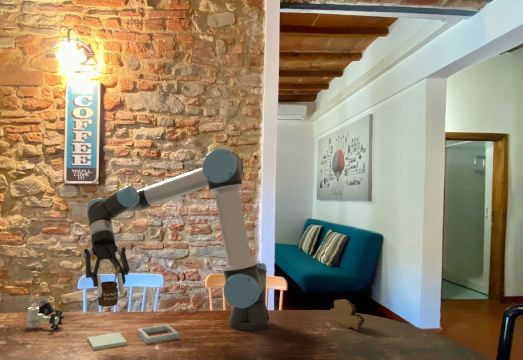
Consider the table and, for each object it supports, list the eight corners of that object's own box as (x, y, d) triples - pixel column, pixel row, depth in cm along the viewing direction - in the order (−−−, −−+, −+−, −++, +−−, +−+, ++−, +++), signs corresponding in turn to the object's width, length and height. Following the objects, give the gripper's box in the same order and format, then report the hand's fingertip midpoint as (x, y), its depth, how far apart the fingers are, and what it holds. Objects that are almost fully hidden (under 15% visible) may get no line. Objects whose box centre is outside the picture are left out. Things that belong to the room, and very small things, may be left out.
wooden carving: (368, 332, 153) (368, 304, 154) (359, 334, 151) (359, 305, 151) (335, 320, 167) (336, 294, 167) (327, 322, 164) (327, 295, 165)
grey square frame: (167, 329, 151) (167, 324, 151) (178, 338, 141) (179, 333, 141) (137, 334, 145) (137, 328, 145) (146, 344, 136) (146, 338, 136)
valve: (20, 329, 148) (51, 332, 145) (21, 310, 148) (51, 312, 146) (34, 323, 154) (63, 326, 152) (35, 305, 154) (64, 307, 152)
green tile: (119, 335, 143) (119, 332, 143) (126, 344, 135) (126, 341, 135) (87, 340, 138) (87, 336, 138) (93, 350, 130) (93, 346, 130)
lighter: (31, 325, 160) (24, 312, 160) (34, 323, 162) (27, 310, 162) (52, 312, 160) (44, 299, 160) (54, 311, 162) (47, 298, 163)
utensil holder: (94, 304, 137) (96, 266, 137) (112, 301, 141) (114, 264, 142) (103, 308, 133) (105, 269, 133) (121, 304, 137) (123, 267, 138)
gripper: (127, 242, 156) (138, 296, 141) (71, 244, 146) (77, 303, 131) (132, 228, 151) (144, 283, 137) (74, 229, 141) (80, 289, 127)
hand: (111, 293), depth 134 cm, fingers closed on utensil holder, 6 cm apart
